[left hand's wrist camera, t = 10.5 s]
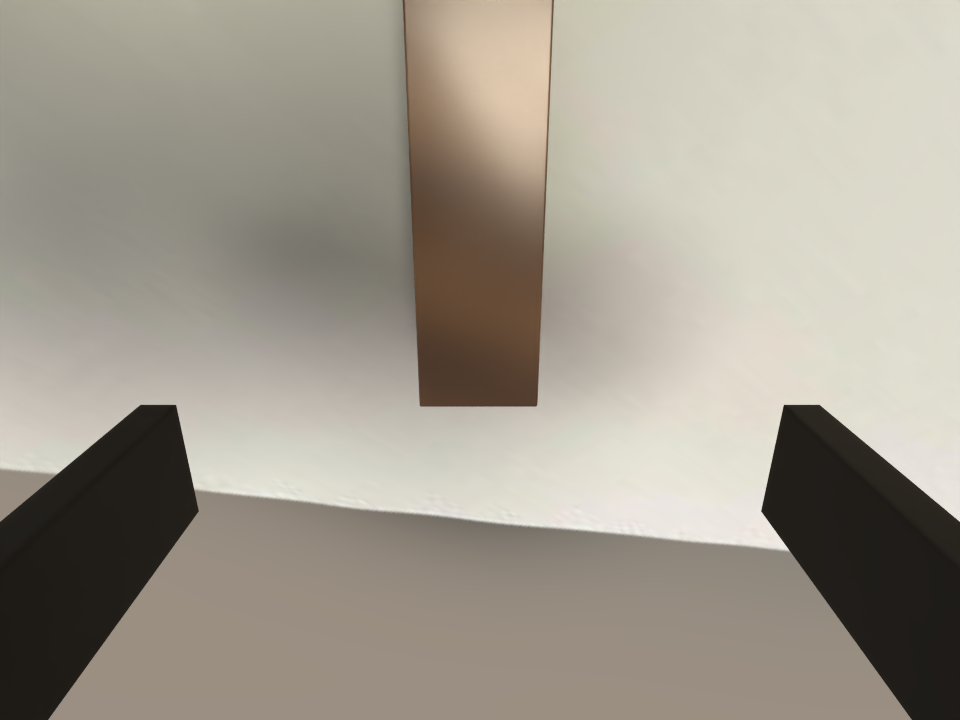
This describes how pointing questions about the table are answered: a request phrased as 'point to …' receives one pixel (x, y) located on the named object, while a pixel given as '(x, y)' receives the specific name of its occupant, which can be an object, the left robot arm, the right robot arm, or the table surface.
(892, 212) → the table surface
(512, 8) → the beam
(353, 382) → the table surface
